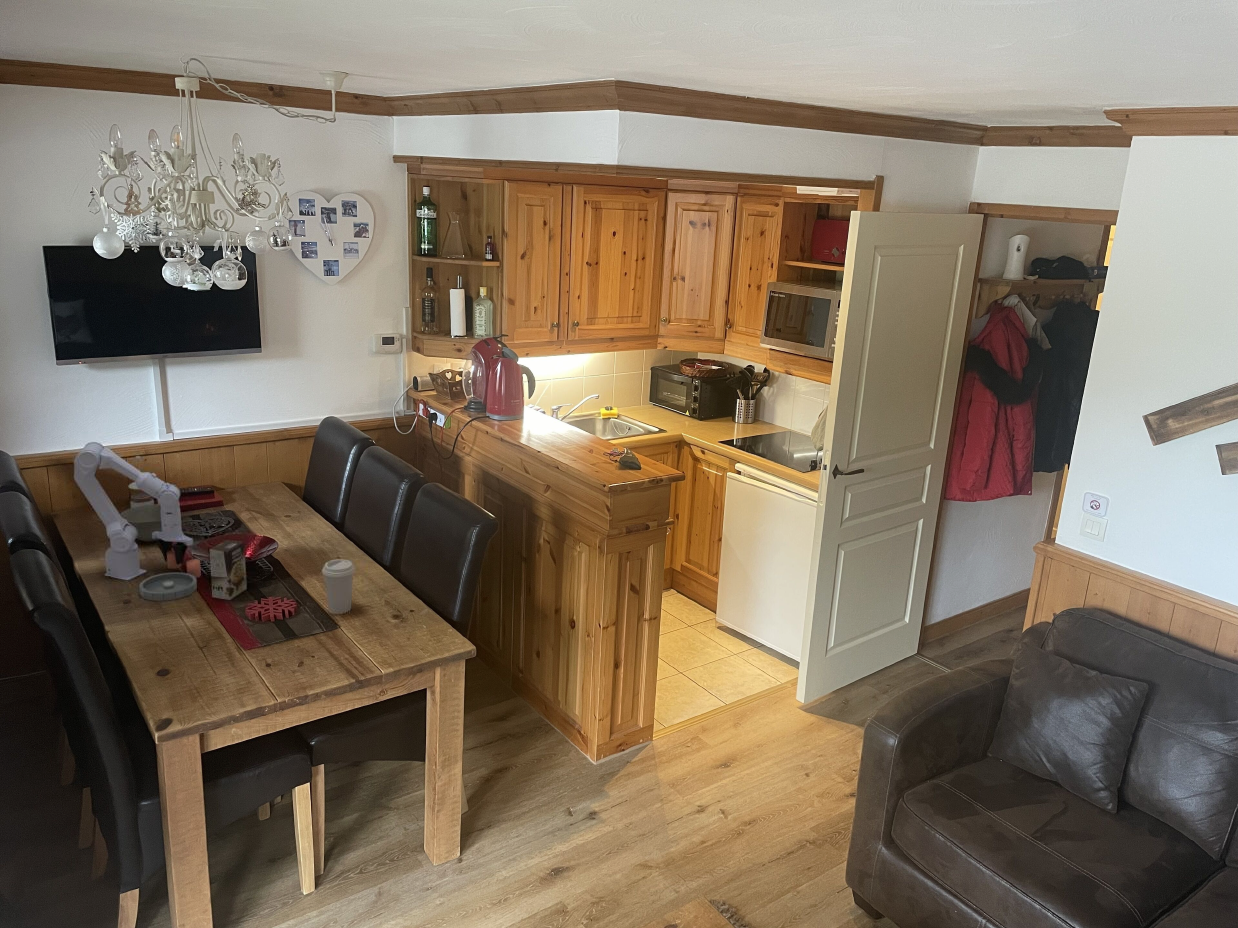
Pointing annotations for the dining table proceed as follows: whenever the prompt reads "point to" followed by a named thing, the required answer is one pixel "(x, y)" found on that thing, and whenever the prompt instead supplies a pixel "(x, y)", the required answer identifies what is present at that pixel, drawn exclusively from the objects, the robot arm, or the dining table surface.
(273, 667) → the dining table surface
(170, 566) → the bead
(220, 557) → the coffee box
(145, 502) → the french press
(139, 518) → the bowl
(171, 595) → the round tray
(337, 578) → the coffee cup
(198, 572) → the bead
